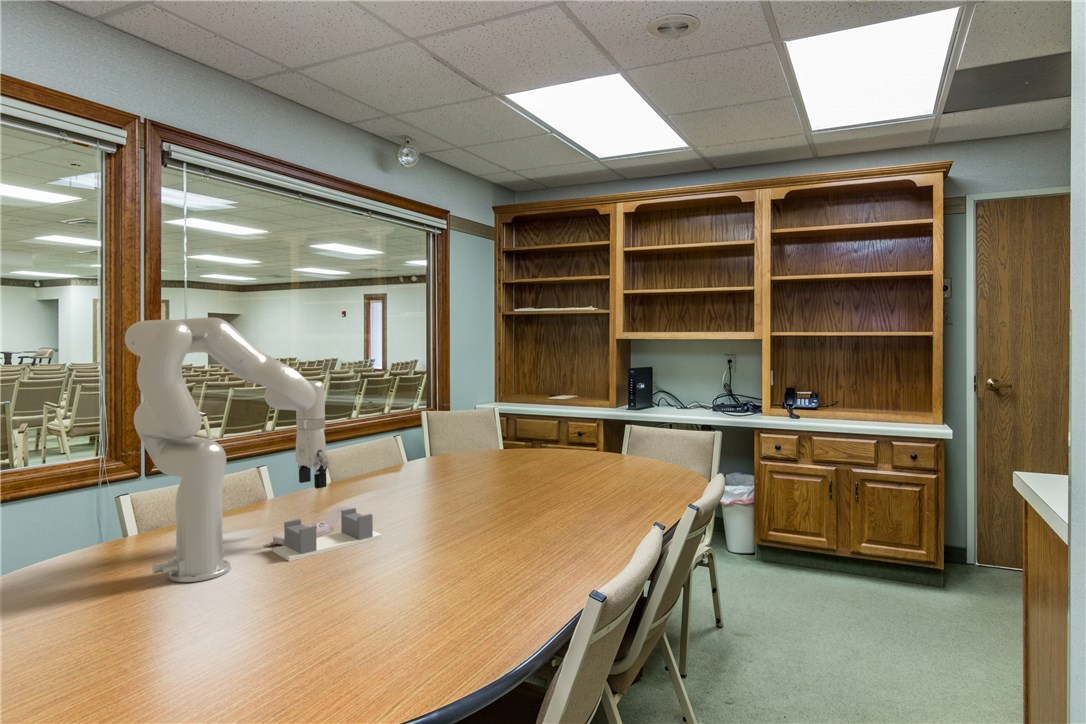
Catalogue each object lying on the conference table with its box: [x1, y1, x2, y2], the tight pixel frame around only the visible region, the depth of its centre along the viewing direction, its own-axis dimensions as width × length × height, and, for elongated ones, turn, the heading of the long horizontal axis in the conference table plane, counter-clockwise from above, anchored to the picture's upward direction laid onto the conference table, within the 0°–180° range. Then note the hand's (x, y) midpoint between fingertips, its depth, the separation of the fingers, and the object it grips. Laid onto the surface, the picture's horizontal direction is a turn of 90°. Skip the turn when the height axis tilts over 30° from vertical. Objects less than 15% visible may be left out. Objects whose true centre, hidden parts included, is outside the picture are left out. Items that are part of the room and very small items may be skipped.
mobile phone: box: [266, 505, 352, 547], centre depth 171 cm, size 6×6×25 cm
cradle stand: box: [272, 507, 383, 562], centre depth 163 cm, size 26×10×7 cm, turn 136°
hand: (312, 484), depth 171 cm, fingers open, 9 cm apart
